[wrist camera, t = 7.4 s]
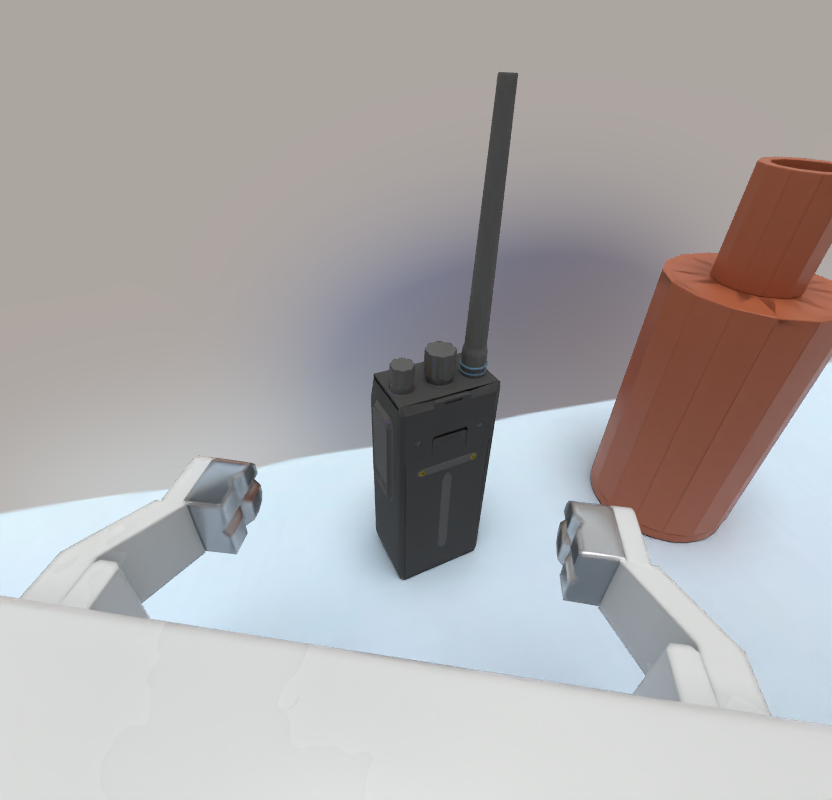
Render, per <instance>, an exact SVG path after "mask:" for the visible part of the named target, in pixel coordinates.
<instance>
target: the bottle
mask: <svg viewBox="0 0 832 800" xmlns="http://www.w3.org/2000/svg"><path fill="white" fill-rule="evenodd" d="M831 243H832V162H830V161H823V160H814V159H806V158H791V157H764V158H760V159H759V160H758V161H757V163H756V166H755V168H754V171H753V173H752V175H751V178H750V180H749V182H748V185H747V187H746V190H745V192H744V194H743V196H742V199H741V202H740V204H739V206H738V209H737V211H736V213H735V216H734V218H733V220H732V223H731V225H730V228H729V230H728V232H727V235H726V237H725V239H724V242H723V244H722V247H721V249H720V251H719V253H718V254H717V253H696V254H684V255H680V256H677V257H675V258H671V259H669V260H667V261H666V263H665V265H664V267H663V269H662V272H661V275H660V278H659V281H658V283H657V286H656V289H655V292H654V295H653V298H652V300H651V303H650V306H649V309H648V312H647V314H646V318H645V320H644V323H643V326H642V329H641V331H640V334H639V337H638V340H637V343H636V345H635V348H634V351H633V354H632V357H631V360H630V362H629V365H628V368H627V371H626V374H625V376H624V379H623V382H622V385H621V388H620V391H619V393H618V396H617V399H616V402H615V405H614V407H613V410H612V413H611V416H610V419H609V421H608V424H607V427H606V430H605V433H604V436H603V438H602V441H601V444H600V447H599V450H598V452H597V455H596V458H595V461H594V464H593V467H592V471H591V483H592V487H593V490H594V492H595V494H596V496H597V498H598V499H599V501H600V502H601V503H602V505H609V506H619V507H628V508H632V509H633V510H634V511H635V514H636V517H637V520H638V524H639V527H640V530H641V533H643V534H645V535H648V536H651V537H654V538H657V539H661V540H666V541H671V542H693V541H698V540H701V539H704V538H706V537H708V536H710V535H712V534H713V533H714V532H715V531H716V530H717V529H718V528H719V526H720V525H721V523H722V522H723V521H724V520H725V519H726V518H727V516H728V515H729V513H730V511H731V510H732V508H733V507H734V505H735V504H736V502H737V501H738V499H739V498H740V496H741V495H742V493H743V492H744V490H745V489H746V487H747V485H748V484H749V482H750V481H751V479H752V478H753V476H754V475H755V473H756V472H757V470H758V469H759V467H760V466H761V464H762V462H763V461H764V459H765V458H766V456H767V455H768V453H769V452H770V450H771V449H772V447H773V446H774V444H775V443H776V441H777V440H778V438H779V436H780V435H781V433H782V432H783V430H784V429H785V427H786V426H787V424H788V423H789V421H790V420H791V418H792V417H793V415H794V413H795V412H796V410H797V409H798V407H799V406H800V404H801V403H802V401H803V400H804V398H805V397H806V395H807V394H808V392H809V391H810V389H811V387H812V386H813V384H814V383H815V381H816V380H817V378H818V377H819V375H820V374H821V372H822V371H823V369H824V368H825V366H826V364H827V363H828V361H829V360H830V358H831V357H832V281H831V280H828V279H826V278H824V277H821V276H819V275H816V274H815V272H816V270H817V268H818V267H819V265H820V263H821V261H822V259H823V258H824V256H825V254H826V252H827V250H828V249H829V247H830V245H831Z"/></svg>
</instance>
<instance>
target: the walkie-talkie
mask: <svg viewBox="0 0 832 800" xmlns="http://www.w3.org/2000/svg"><path fill="white" fill-rule="evenodd" d="M517 78H518V73H508V72H499V73H498V77H497V86H496V94H495V102H494V110H493V118H492V126H491V134H490V142H489V150H488V158H487V166H486V174H485V182H484V190H483V198H482V206H481V215H480V223H479V231H478V239H477V247H476V255H475V263H474V271H473V279H472V288H471V296H470V303H469V311H468V320H467V328H466V336H465V343H464V345H463V348H462V353H459V354H457V348H456V347H454V346H453V345H452V344H451V343H446V342H442V341H437V342H434V343H429V344H428V345H427V347H426V348H425V355H424V362H421V363H417V364H415V363H413V362H412V360H410V359H405V358H399V359H394V360H392V362H391V363H390V370H387V371H383V372H379V373H375V374H374V380H373V387H372V394H371V407H372V435H373V436H372V437H373V465H374V485H375V511H376V530H377V533H378V535H379V537H380V539H381V541H382V543H383V544H384V546H385V548H386V550H387V552H388V554H389V556H390V558H391V560H392V562H393V564H394V566H395V568H396V570H397V572H398V574H399V576H400V577H401V578H403V579H404V580H405V579H407V578H410V577H412V576H414V575H417V574H419V573H421V572H424V571H426V570H428V569H431V568H433V567H435V566H438V565H440V564H442V563H445V562H447V561H449V560H452V559H454V558H457V557H459V556H461V555H464V554H466V553H468V552H471V551H473V550H474V548H475V546H476V541H477V534H478V527H479V521H480V514H481V508H482V501H483V495H484V488H485V482H486V475H487V469H488V462H489V456H490V449H491V443H492V436H493V430H494V423H495V417H496V410H497V404H498V397H499V390H500V381H499V380H498V379H497V378H496V377H494V376H493V375H492V374H491V373H490V372H489V371H488V370H487V368H486V366H487V338H488V330H489V321H490V311H491V303H492V295H493V286H494V278H495V269H496V259H497V252H498V242H499V234H500V226H501V216H502V208H503V200H504V190H505V182H506V173H507V164H508V156H509V147H510V139H511V130H512V120H513V112H514V104H515V95H516V87H517Z"/></svg>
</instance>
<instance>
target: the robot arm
mask: <svg viewBox="0 0 832 800" xmlns="http://www.w3.org/2000/svg"><path fill="white" fill-rule="evenodd" d="M256 475H257V470H256V466H255V464H253V463H248V462H241V461H235V460H229V459H221V458H213V457H206V456H197V457H195V458H193V459H192V461H191V462H190V463H189V464H188V466H187V467H186V468H185V470H184V471H183V473H182V474H181V475H180V476H179V478H178V479H177V480H176V482H175V483H174V484H173V486H172V487H171V488H170V489H169V491H168V492H167V493H166V495H165V496H164V497H163V499H162V500H161V501H159V500H155V501H153V502H151V503H149V504H148V505H146V506H144V507H142V508H140V509H138V510H137V511H135V512H133V513H131V514H129V515H127V516H125V517H124V518H122V519H120V520H118V521H116V522H114V523H113V524H111V525H109V526H107V527H105V528H103V529H102V530H100V531H98V532H96V533H94V534H92V535H91V536H89V537H87V538H85V539H83V540H81V541H80V542H78V543H76V544H74V545H72V546H70V547H69V548H67V549H65V550H63V551H61V552H60V553H59V554H58V555H57V556H56V557H55V558H54V560H53V561H52V562H51V563H50V564H49V565H48V566H47V568H46V569H45V570H44V571H43V572H42V573H41V574H40V575H39V577H38V578H37V579H36V580H35V581H34V582H33V583H32V584H31V586H30V587H29V588H28V589H27V590H26V591H25V592H24V594H23V595H22V596H21V597H20V598H14V597H7V596H1V595H0V800H832V725H826V724H820V723H813V722H807V721H800V720H794V719H788V718H781V717H775V716H772V715H771V713H770V711H769V708H768V706H767V704H766V701H765V699H764V696H763V694H762V692H761V689H760V687H759V685H758V682H757V680H756V677H755V675H754V673H753V670H752V668H751V665H750V663H749V661H748V658H747V656H746V654H745V652H744V651H743V650H742V649H741V648H740V647H739V646H738V645H737V644H736V643H735V642H734V641H733V640H732V639H731V638H730V637H729V636H728V635H727V634H726V633H725V632H724V631H723V630H722V629H721V628H720V627H719V626H718V625H717V624H716V623H715V622H714V621H713V620H712V619H711V618H710V617H709V616H708V615H707V614H706V613H705V612H704V611H703V610H702V609H701V608H700V607H699V606H698V605H697V604H696V603H695V602H694V601H693V600H692V599H691V598H690V597H689V596H688V595H687V594H686V593H685V592H684V591H683V590H682V589H681V588H680V587H679V586H678V585H677V584H676V583H675V582H674V581H673V580H672V579H671V578H670V577H669V576H668V575H667V574H666V573H665V572H664V571H663V570H662V569H661V568H659V567H658V566H654V565H651V561H650V558H649V555H648V552H647V549H646V546H645V542H644V539H643V536H642V533H641V530H640V527H639V524H638V520H637V517H636V514H635V511H634V510H633V509H632V508H628V507H619V506H609V505H602V504H593V503H584V502H575V501H568V503H567V504H566V507H565V510H564V513H565V520H564V521H562V522H560V525H559V529H558V533H557V558H558V560H559V562H560V563H561V564H562V565H563V567H562V570H561V573H560V582H561V589H562V596H563V600H566V601H572V602H578V603H584V604H590V605H596V606H599V607H598V608H599V609H600V611H601V612H602V614H603V615H604V617H605V618H606V620H607V621H608V622H609V624H610V625H611V627H612V628H613V630H614V631H615V632H616V634H617V635H618V637H619V638H620V640H621V641H622V642H623V644H624V645H625V647H626V648H627V650H628V651H629V653H630V654H631V655H632V657H633V658H634V660H635V661H636V663H637V664H638V665H639V667H640V668H641V670H642V671H643V673H644V674H645V678H644V679H643V681H642V682H641V683H640V685H639V686H638V687H637V689H636V690H635V692H634V693H633V694H628V693H621V692H615V691H608V690H602V689H596V688H589V687H583V686H576V685H570V684H564V683H557V682H551V681H544V680H538V679H531V678H525V677H519V676H512V675H506V674H500V673H493V672H487V671H480V670H474V669H468V668H461V667H455V666H448V665H442V664H436V663H429V662H423V661H417V660H410V659H404V658H397V657H391V656H385V655H378V654H372V653H365V652H359V651H352V650H346V649H340V648H333V647H327V646H320V645H314V644H307V643H301V642H294V641H288V640H282V639H275V638H269V637H262V636H256V635H250V634H243V633H237V632H230V631H224V630H218V629H211V628H205V627H198V626H192V625H186V624H179V623H173V622H166V621H160V620H154V619H150V616H149V615H148V613H147V611H146V610H145V608H144V607H143V605H142V603H143V602H144V601H145V600H146V599H148V598H149V597H150V596H151V595H153V594H154V593H155V592H156V591H158V590H159V589H160V588H161V587H163V586H164V585H165V584H166V583H168V582H169V581H170V580H171V579H173V578H174V577H175V576H176V575H178V574H179V573H180V572H181V571H183V570H184V569H185V568H187V567H188V566H189V565H190V564H192V563H193V562H194V561H195V560H197V559H198V558H199V557H200V556H202V555H203V554H204V553H205V551H212V552H221V553H230V554H237V552H238V551H239V549H240V547H241V545H242V543H243V541H244V539H245V537H246V535H247V529H246V525H247V524H249V523H250V522H252V521H253V520H255V518H256V516H257V514H258V512H259V509H260V505H261V501H262V490H261V485H260V484H259V483H258V482H257V481H256V480H255V479H254V478H255V477H256Z"/></svg>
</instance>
